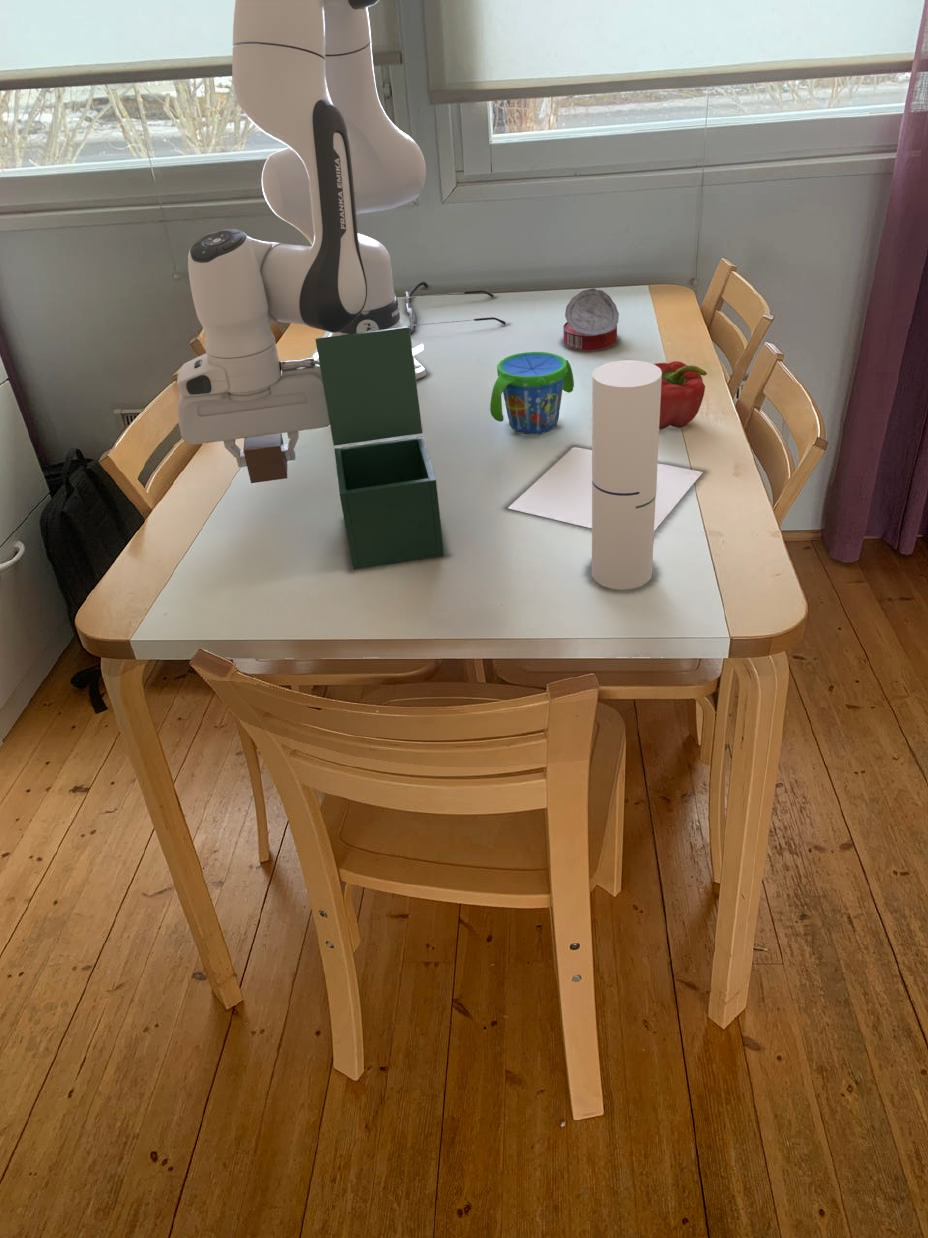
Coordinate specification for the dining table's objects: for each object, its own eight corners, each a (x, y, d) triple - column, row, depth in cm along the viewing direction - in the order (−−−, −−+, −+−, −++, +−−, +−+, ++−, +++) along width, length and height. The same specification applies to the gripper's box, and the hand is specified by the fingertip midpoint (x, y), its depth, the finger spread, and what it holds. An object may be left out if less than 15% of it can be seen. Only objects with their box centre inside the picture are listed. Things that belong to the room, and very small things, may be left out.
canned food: (613, 358, 178) (639, 314, 171) (590, 372, 171) (616, 326, 164) (567, 324, 180) (591, 278, 173) (542, 336, 173) (566, 289, 166)
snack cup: (552, 401, 153) (551, 340, 147) (594, 422, 146) (594, 359, 140) (473, 429, 147) (469, 367, 141) (513, 452, 140) (510, 388, 134)
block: (252, 466, 132) (244, 434, 129) (287, 461, 133) (280, 429, 130) (251, 483, 128) (243, 450, 125) (287, 478, 129) (280, 445, 126)
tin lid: (409, 327, 115) (408, 326, 116) (315, 339, 114) (315, 338, 115) (422, 433, 121) (422, 431, 122) (333, 446, 120) (333, 444, 121)
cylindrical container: (586, 559, 115) (586, 364, 100) (643, 553, 115) (652, 357, 100) (598, 592, 109) (599, 390, 94) (658, 585, 109) (669, 382, 95)
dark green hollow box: (444, 555, 118) (436, 480, 112) (352, 570, 117) (339, 494, 111) (430, 507, 128) (422, 435, 122) (346, 520, 127) (334, 448, 121)
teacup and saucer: (638, 505, 124) (639, 478, 122) (584, 493, 128) (584, 466, 126) (664, 476, 130) (665, 450, 128) (611, 466, 134) (612, 439, 132)
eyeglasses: (405, 306, 198) (403, 287, 196) (493, 299, 199) (492, 280, 197) (410, 335, 183) (408, 315, 181) (505, 327, 185) (505, 307, 182)
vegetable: (719, 420, 143) (725, 357, 137) (682, 445, 137) (686, 380, 132) (658, 404, 150) (661, 342, 144) (620, 427, 144) (622, 364, 138)
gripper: (324, 347, 124) (340, 441, 133) (169, 367, 123) (195, 461, 131) (326, 365, 119) (342, 462, 128) (164, 386, 118) (191, 482, 126)
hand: (266, 462), depth 130 cm, fingers closed on block, 5 cm apart
